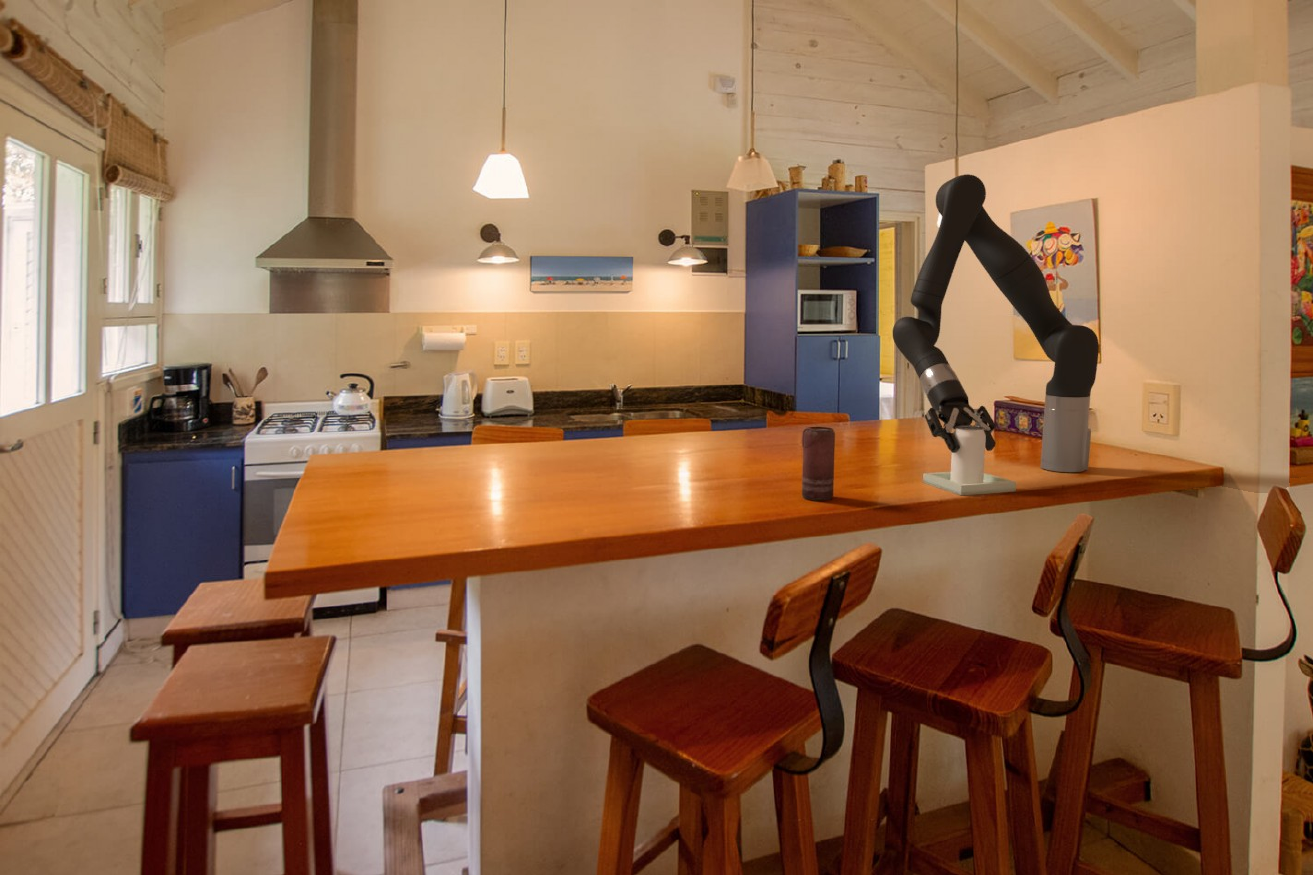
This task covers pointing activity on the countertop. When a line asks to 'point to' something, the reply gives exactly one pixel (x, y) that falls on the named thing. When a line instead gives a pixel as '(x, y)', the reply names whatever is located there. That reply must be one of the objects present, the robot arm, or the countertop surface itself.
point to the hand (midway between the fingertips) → (974, 449)
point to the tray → (988, 486)
